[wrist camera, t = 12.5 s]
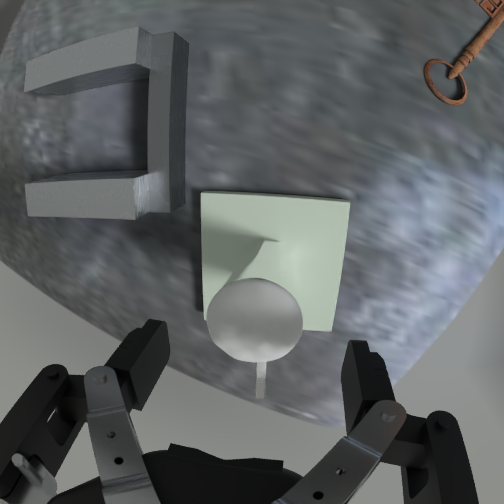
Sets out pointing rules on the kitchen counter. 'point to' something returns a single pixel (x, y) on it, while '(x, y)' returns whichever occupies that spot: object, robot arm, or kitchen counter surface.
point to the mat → (284, 231)
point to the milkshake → (258, 309)
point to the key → (469, 51)
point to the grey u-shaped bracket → (159, 124)
